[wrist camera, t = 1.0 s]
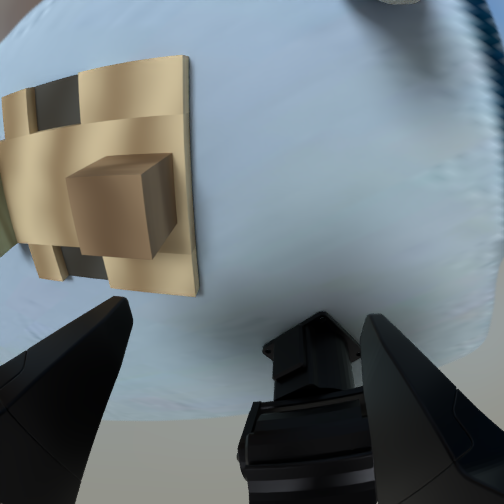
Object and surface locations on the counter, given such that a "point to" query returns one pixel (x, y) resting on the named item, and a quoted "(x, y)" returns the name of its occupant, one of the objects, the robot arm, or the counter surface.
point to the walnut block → (124, 205)
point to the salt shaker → (400, 1)
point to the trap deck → (87, 152)
